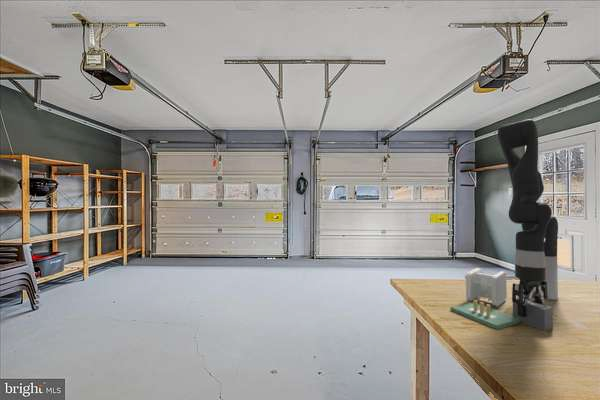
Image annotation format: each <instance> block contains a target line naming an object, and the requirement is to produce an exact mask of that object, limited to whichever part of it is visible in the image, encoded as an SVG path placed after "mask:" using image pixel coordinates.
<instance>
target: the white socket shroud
mask: <svg viewBox="0 0 600 400" xmlns="http://www.w3.org/2000/svg"><path fill="white" fill-rule="evenodd" d="M464 279H465V298H466V300H467V301H470V302H474V300H477V299H478V300H479V301H480V300H481V299H480V298H484V299H487V302H490V301H491V303H492V304H491V305H492V306H494V307H495V308H498V307H499V306H501V304H503V303H504V302H505V301H506V299H507V295H508V291H507V290H508V289H507V288H508V287H507V284H508V283H507V272H506V271H504V270H503V271H502V270H501V271H498V272H497V273H495V274H493V275H492V274H488V273H487V274H486V273H484V271H483V269H482V268H479V267H476V268H474V269H472V270H470V271H468V272H466V274H465V275H464Z"/></svg>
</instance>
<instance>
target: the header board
mask: <svg viewBox="0 0 600 400" xmlns="http://www.w3.org/2000/svg"><path fill="white" fill-rule="evenodd" d="M491 306H492V304H489V303H488V304H485V303H484V302H482V301H479V303H478V300H477V299H475V300H473V301H470V302H466V303H464V304H458V305H454V306H450V311H451V312H454V313H457V314H458V315H461V316H464V317H466V318H469V319H471V320H473V321H476V322H478V323H481V324H483V325H486V326H489V327H490V328H493V329H495V330H500V329H503V328H506V327H510V326H513V325H516V324H522V323H521V319H520V318H518V317H515V316H513V314H509V313H507V312H502V311H500V310H497V309H495V308H491Z"/></svg>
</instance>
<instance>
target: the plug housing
mask: <svg viewBox="0 0 600 400" xmlns="http://www.w3.org/2000/svg"><path fill="white" fill-rule="evenodd" d="M523 301H524V298H523ZM526 306H527V317H525V318H524V317H521V316H518V310H517V303H514V302H512V316H515V317H518V318H520V319H521V323H520V324H525V325H527V326H530V327H533V328H534V329H535V328H536V329H538V330H540V331H543V332H547V331H549V330H552V329H554V325H553V324H554V321H553V320H554V317H553V315H554V313H553V310H554V309H553V307H552V306H549V305H546V304H543V305H542V304H539V303H535V302H534V301H533V300H532V301H531V300H528V302H527V305H526Z"/></svg>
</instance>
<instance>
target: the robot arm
mask: <svg viewBox="0 0 600 400" xmlns="http://www.w3.org/2000/svg"><path fill="white" fill-rule="evenodd" d="M497 138H498V142H499V145H500V147H501V150H502V153H503V156H504V159H505V162H506V164H507V169H508V173H509V177H510V182H511V185H512V186H511V187H512V200H511V203H510V206H509V210H508V218H509V219H510V221H511V222H512V223H514V224H517V225H518V224H520V225H521V228H522V230H521V231H518V232H516V234H515V254H514V276H515V277H516V278H517V279H519V282H518V283H514V282H513V283H512V286H511V288H512V289H511V291H512V292H511V302H512V303H513V302H514V303H517V310H518V316H521V317H524V318H525V317H527V306H526V305H527V302H528V301H531V299H533V302H535V303H539V304H542V305H544V302H545V300H547V301H557V300H558V299H559V289H558V288H559V286H558V281H559V280H558V279H559V277H558V236H559V235H558V233H559V223H558V219H557V218H556V216H553V215H552V214H553V212H552V211H553V210H552V208H551V206H550V205H549V204H548V203H546V202H543V201H542V202H541V201H538V200H539V199H540V198H541V197H542V195H543V192H544V189H545V185H544V182H543V177H542V174H541V172H540V171H539V169H538V166H539V165H538V163H539V162H538V161H539V132H538V128H537V125H536V123H535V121H534V120H533V119H531V118H528V119H523V120H519V121H516V122H515V121H514V122H512V123H508V124H504V125H501V126H500V127H499V128H498V129H497ZM521 147H526V148H525V150H524V154H523V156H522V157H520V156H519V154H518V153H517V152H516V151H515V149H517V148H521ZM523 299H524V301H523Z"/></svg>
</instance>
